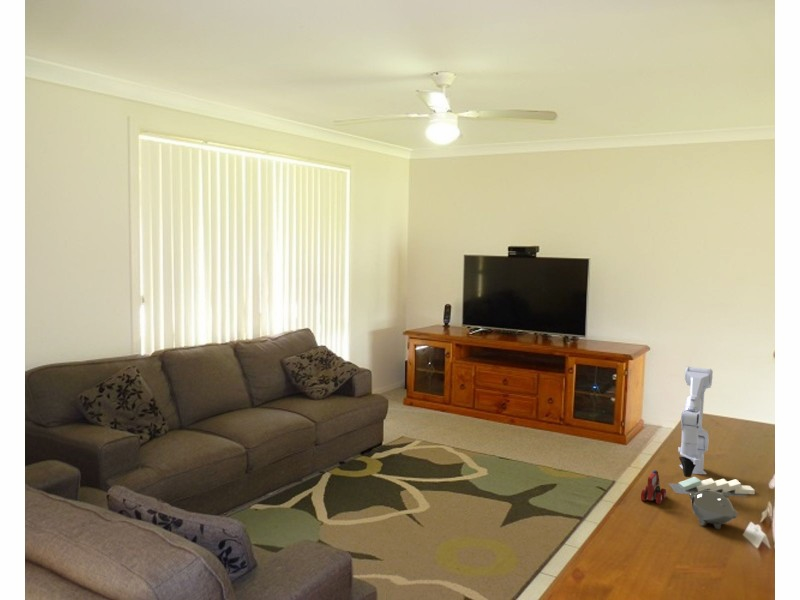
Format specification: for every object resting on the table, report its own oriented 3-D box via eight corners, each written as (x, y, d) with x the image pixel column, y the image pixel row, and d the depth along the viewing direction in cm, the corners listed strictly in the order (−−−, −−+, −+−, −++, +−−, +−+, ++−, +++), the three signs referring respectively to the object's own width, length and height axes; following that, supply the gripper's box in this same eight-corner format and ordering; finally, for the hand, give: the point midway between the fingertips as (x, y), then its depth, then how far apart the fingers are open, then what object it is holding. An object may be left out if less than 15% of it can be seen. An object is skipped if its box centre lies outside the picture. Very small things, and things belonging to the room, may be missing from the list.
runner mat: (668, 484, 255) (668, 483, 255) (736, 487, 253) (737, 486, 253) (676, 494, 246) (676, 493, 246) (747, 497, 243) (748, 496, 243)
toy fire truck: (667, 496, 244) (668, 469, 243) (658, 507, 234) (660, 480, 233) (648, 492, 248) (649, 465, 247) (638, 502, 238) (640, 475, 237)
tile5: (735, 489, 246) (754, 490, 245) (730, 484, 250) (749, 485, 249) (735, 493, 246) (754, 494, 245) (730, 488, 250) (749, 489, 250)
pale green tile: (684, 487, 248) (700, 480, 248) (678, 482, 252) (694, 476, 252) (685, 490, 248) (702, 484, 248) (679, 486, 252) (695, 480, 253)
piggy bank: (734, 536, 212) (736, 502, 211) (685, 525, 220) (687, 492, 218) (737, 523, 221) (740, 491, 220) (690, 513, 229) (692, 481, 228)
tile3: (709, 488, 247) (728, 482, 246) (705, 483, 251) (723, 478, 250) (711, 492, 247) (729, 486, 246) (706, 487, 251) (724, 482, 250)
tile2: (697, 487, 247) (715, 482, 246) (693, 483, 252) (711, 478, 251) (698, 491, 247) (716, 486, 246) (694, 487, 252) (712, 481, 251)
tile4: (722, 488, 246) (740, 483, 245) (717, 484, 251) (735, 479, 250) (723, 492, 246) (742, 487, 246) (719, 488, 251) (737, 482, 250)
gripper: (708, 448, 241) (706, 483, 242) (691, 436, 255) (689, 469, 257) (689, 448, 241) (687, 483, 242) (673, 436, 255) (671, 469, 257)
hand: (687, 476), depth 249 cm, fingers closed
